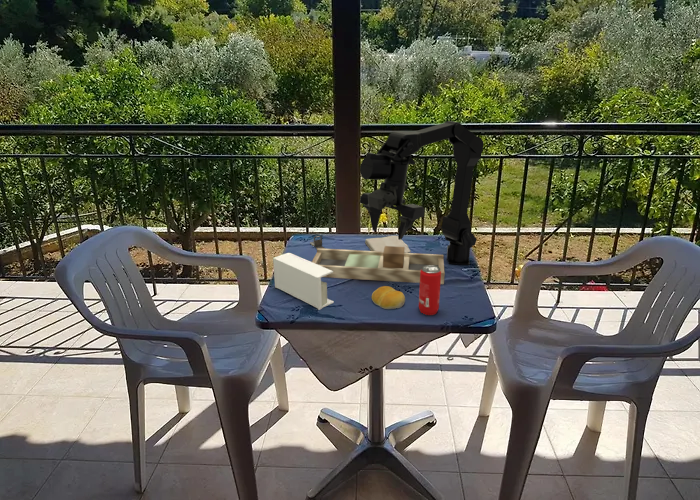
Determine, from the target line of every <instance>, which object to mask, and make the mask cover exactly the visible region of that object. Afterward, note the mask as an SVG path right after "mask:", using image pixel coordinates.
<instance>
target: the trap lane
mask: <svg viewBox="0 0 700 500" xmlns="http://www.w3.org/2000/svg"><path fill="white" fill-rule="evenodd" d="M444 260H445V259H444V254H435V253H418V252H417V253H415V252H414V253H413V252H409V253H404V265H403V268H386V267H383V252H380V251H371V250H359V249H357V250H356V249H341V248H340V249H337V248H326V249H321V248H317V250H316V254H314V257H313V259H312V260H311V262H313V263H315V264H317V265H320V266H322V267H325V268H327V269H329V270H332V271H333V273H331V274H328V275H326V276H324V277H323V278H331V279H348V280H349V279H350V280H367V281H368V280H369V281H382V282H399V283H400V282H401V283H414V284H415V283H416V284H420V271H421V269H422V267H423V266H426V265H434V266H437V267H439V268H440V271H441V284H440V285H444V284H445V275H446V274H445V262H444Z"/></svg>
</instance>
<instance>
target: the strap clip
mask: <svg viewBox="0 0 700 500" xmlns="http://www.w3.org/2000/svg"><path fill="white" fill-rule="evenodd" d="M316 238H320V239H316ZM309 244H311V245H312V247H313V246H314V247H313V248H315V247H316V249H317V248H321V249H327V248H325V246H323V238H322V236H321V235H318V236H317V235H315V236H314V237H313V241H310V242H309ZM311 245H310V246H311ZM316 249H315V250H316Z"/></svg>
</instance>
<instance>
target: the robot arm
mask: <svg viewBox="0 0 700 500" xmlns="http://www.w3.org/2000/svg"><path fill="white" fill-rule="evenodd" d="M446 140H448V142H449V143H450V144H451V145H452V146H453V151H452V152H453V156H454V160H455V162H456V171H455V177H454V184H453V193H452V199H451V209H450V212H448V214H447V215H444V216H443V217H442V225H441V227H440V229H441V230H442V234H443V236H444V239H445V241H446V242H447V241H448V242H449V244H448V245H446V246H447V249H446V261H447V262H448V265H460V266H461V265H463V266H469V265H470V264H471V263H470V262H471V261H470V255H471V254H470V252H471V248H473V246H475V245H476V242H477V240H478V239H477V237H476V236H475V235H474V234H473V233H472V232H471V228H472V227H471V224H472V223H471V220H470V217H469V213H468V209H469V204H470V203H469V202H470V196H471V190H472V189H471V188H472V182H473V176H474V171H475V170H474V169H475V167H476V165H477V164H478V162H479V161H480V159H481V158H482V154H483V149H484V141H483V138H482V137H480V136H479V135H478V136H477V135H476V134H475V133H473V132H472V131H470V130H469V129H468V128H466V126H464V125H463V124H462V123H461V122H458V121H453V120H447V121H445V122H443V123H440V124H436V125H433V126H429V127H425V128H422V129H419V130H414V131H409V130H407V131H406V130H405V131H399V130H398V131H392V132H391V133H389V134H388V137H387V140H385V142H384V143H383V145H382V146H381V147H380V149H378V151H377V152H376V153H373V152H367V153H366V156H365V157H364V158H363V159H362V161H361V163H360V165H359V170H360V171H359V172H360V176H361V177H362V179H364V180H377V181H378V180H384V181H381V182H380V186H379V188H378V189H375V190H374V191H372V192H363V193H362V194H361V195H360V197H359V198H360V199H359V204H362V207H363V208H365V209H366V211H367V212H368V215H369V219H370V223H371V229H372V231H373V232H375V231H377V228H378V226H379V222H380V218H381V214H382V211H383V210H384V209H385V208H389V209H393V210H395V211H399V213H400V215H401V216H400V215H399V216H398V218H399V220H400V223H399V230H398V234H397V236H398V239H399V240H402V239H403V238H404V236H405V235H406V233H407V232H408V230H409V229H410V227H411V226H412V225H413V224H414V222H415V221H416V220H419V219H420V218H424V217H425V208H424V206H422V205H419V204H416V203H409V204H406V199H405V198H404V196H405V195H404V194H405V190H406V189H408V186H409V184H406V182H407V176H408V175H407V174H408V168H409V165H412V166H413V165H415V164H416V161H415V160H414V159H413V158H412V155H414V154H415V153H417V152H419V150H421V148H423V147H425V146H428V145H431V144H435V143H438V142H441V141H446Z"/></svg>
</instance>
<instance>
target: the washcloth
mask: <svg viewBox="0 0 700 500" xmlns="http://www.w3.org/2000/svg"><path fill="white" fill-rule="evenodd" d="M364 243H365V245H366V246H367V247H368V249H369V251H380V252H384V248H385V246H394V247H405V250H404V253H412V252H411V249H410V248H409V246H408V244H406V243H405V242H404V241H403V240H402V239H401V240H399V239H398V235H388V236H383V237H372V238H371V237H370V238H366V239H365V242H364Z"/></svg>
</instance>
